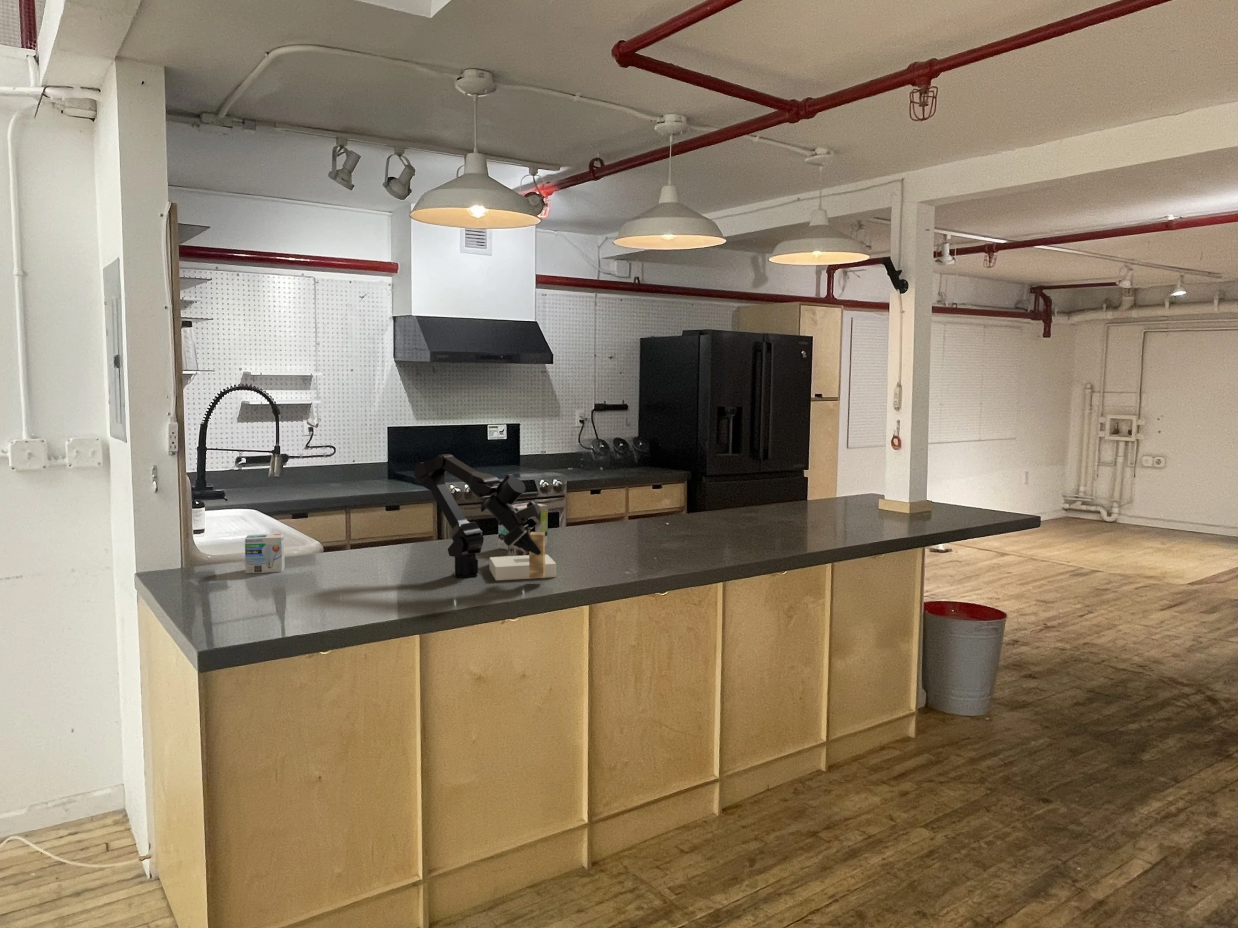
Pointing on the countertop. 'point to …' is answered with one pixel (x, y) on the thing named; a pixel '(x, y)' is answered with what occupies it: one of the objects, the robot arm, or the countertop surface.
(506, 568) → the white flat block
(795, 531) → the countertop surface
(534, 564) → the tan wooden block
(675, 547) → the countertop surface
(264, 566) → the light bulb box
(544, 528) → the tea box
